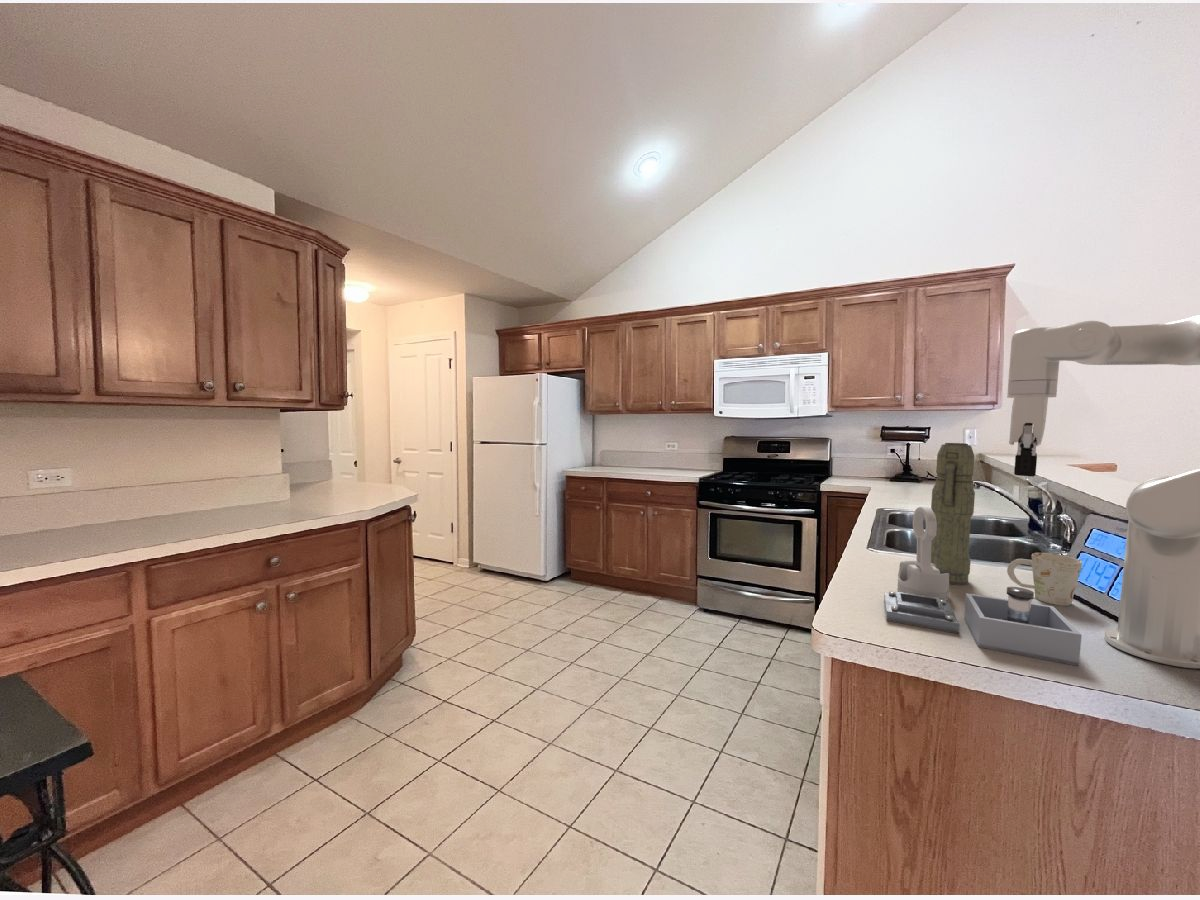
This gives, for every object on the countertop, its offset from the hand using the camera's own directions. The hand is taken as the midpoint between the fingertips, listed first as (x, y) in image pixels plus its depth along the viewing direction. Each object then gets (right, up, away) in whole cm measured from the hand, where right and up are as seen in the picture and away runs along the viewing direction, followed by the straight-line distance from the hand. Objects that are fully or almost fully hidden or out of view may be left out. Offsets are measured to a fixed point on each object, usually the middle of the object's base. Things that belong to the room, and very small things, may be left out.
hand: (1024, 473), depth 99 cm
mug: (+14, -30, +12) cm, 35 cm away
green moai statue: (+2, -29, +25) cm, 38 cm away
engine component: (-12, -29, +15) cm, 35 cm away
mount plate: (-21, -30, +2) cm, 37 cm away
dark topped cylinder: (-9, -30, -9) cm, 33 cm away
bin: (-10, -31, -9) cm, 34 cm away
